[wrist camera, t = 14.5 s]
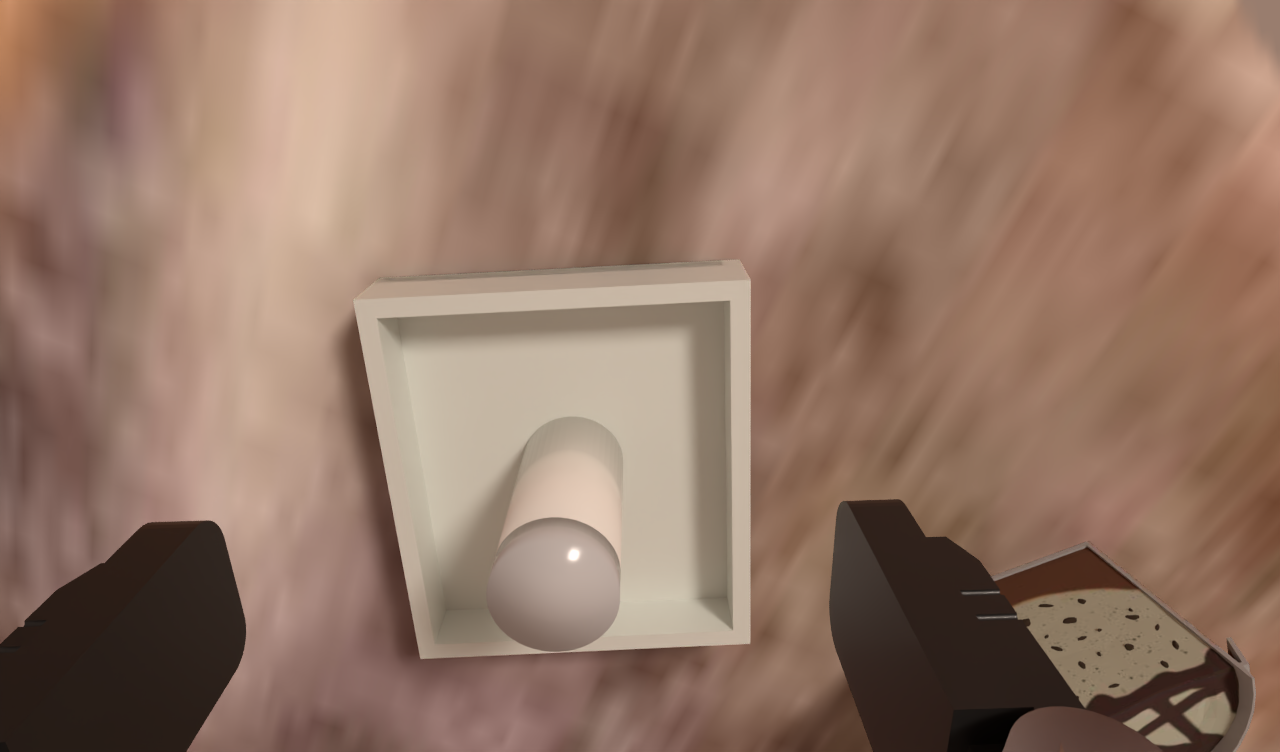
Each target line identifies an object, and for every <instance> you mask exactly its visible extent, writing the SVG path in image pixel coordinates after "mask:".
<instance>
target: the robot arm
mask: <svg viewBox="0 0 1280 752" xmlns="http://www.w3.org/2000/svg"><path fill="white" fill-rule="evenodd" d="M829 610H830V623H831V631H832V636H833V641H834V645H835V648H836V651H837V654H838V657H839V660H840V662H841V665H842V668H843V671H844V673H845V676H846V679H847V681H848V684H849V687H850V690H851V692H852V695H853V698H854V701H855V703H856V706H857V709H858V711H859V714H860V717H861V720H862V722H863V725H864V728H865V730H866V733H867V736H868V739H869V741H870V744H871V747H872V750H873V752H1163V751H1162V750H1161V749H1159V748H1158V747H1157V746H1156V745H1155V744H1153V743H1152V742H1151V741H1150V740H1149V739H1147V738H1146V737H1144V736H1143V735H1141V734H1140V733H1138V732H1137V731H1135V730H1134V729H1132V728H1130V727H1128V726H1126V725H1125V724H1123V723H1121V722H1119V721H1116V720H1114V719H1112V718H1110V717H1107V716H1105V715H1102V714H1099V713H1096V712H1093V711H1088V710H1086V709H1085V707H1084V706H1083V705H1082V703H1081V702H1080V701H1079V699H1078V698H1077V696H1076V695H1075V694H1074V692H1073V691H1072V689H1071V688H1070V687H1069V685H1068V684H1067V682H1066V681H1065V680H1064V678H1063V677H1062V675H1061V674H1060V673H1059V671H1058V670H1057V668H1056V667H1055V666H1054V664H1053V663H1052V661H1051V660H1050V659H1049V657H1048V656H1047V654H1046V653H1045V652H1044V650H1043V649H1042V647H1041V646H1040V645H1039V643H1038V642H1037V640H1036V639H1035V638H1034V636H1033V635H1032V633H1031V632H1030V631H1029V629H1028V628H1027V626H1026V625H1025V624H1024V622H1023V621H1022V619H1020V620H1018V618H1017V612H1016V611H1015V610H1014V608H1013V607H1012V605H1011V604H1010V603H1009V601H1008V600H1007V598H1006V597H1005V596H1004V595H1001V594H1000V589H999V587H998V586H997V584H996V583H995V582H994V580H993V579H992V577H991V576H990V575H989V573H988V572H987V570H986V569H985V568H984V566H983V565H982V563H981V562H980V561H979V560H978V559H977V558H975V557H974V556H972V555H971V554H970V553H968V552H967V551H965V550H964V549H962V548H961V547H960V546H958V545H957V544H955V543H954V542H953V541H951V540H950V539H948V538H947V537H925V535H924V533H923V532H922V530H921V529H920V527H919V526H918V524H917V522H916V521H915V519H914V518H913V516H912V515H911V513H910V511H909V510H908V508H907V507H906V505H905V504H904V503H903V502H902V501H901V500H899V499H894V500H864V501H843V502H841V503H840V505H839V507H838V511H837V517H836V528H835V540H834V552H833V564H832V576H831V588H830V601H829ZM245 639H246V623H245V617H244V613H243V609H242V605H241V601H240V597H239V593H238V589H237V585H236V581H235V578H234V574H233V570H232V566H231V562H230V558H229V554H228V550H227V547H226V543H225V539H224V536H223V533H222V531H221V529H220V527H219V526H218V525H217V524H216V523H215V522H213V521H179V522H151V523H147V524H145V525H143V526H142V527H141V528H139V529H138V530H137V531H136V532H135V533H134V534H133V535H132V536H131V537H130V538H129V539H128V540H127V541H126V542H125V543H124V544H123V545H122V546H121V547H120V548H119V549H118V550H117V551H116V552H115V553H114V554H113V555H112V556H111V557H110V558H109V559H108V560H107V561H106V562H105V563H101V564H99V565H97V566H96V567H94V568H92V569H91V570H89V571H88V572H86V573H84V574H83V575H81V576H79V577H78V578H76V579H74V580H73V581H71V582H69V583H68V584H66V585H64V586H63V587H61V588H59V589H58V590H56V591H55V592H54V593H53V594H52V595H51V596H50V597H49V598H48V599H47V600H46V601H45V602H44V603H43V604H42V605H41V606H40V607H39V608H38V609H37V610H35V611H34V612H33V613H32V614H31V615H30V616H29V617H28V618H27V619H26V620H25V625H24V627H18V628H17V629H16V630H15V631H14V632H12V633H11V634H10V635H9V636H8V637H7V638H6V639H5V640H4V641H3V642H2V643H1V644H0V752H186V751H187V749H188V748H189V746H190V745H191V743H192V741H193V740H194V738H195V736H196V735H197V733H198V732H199V730H200V728H201V727H202V725H203V723H204V722H205V720H206V719H207V717H208V715H209V714H210V712H211V711H212V709H213V707H214V706H215V704H216V702H217V701H218V699H219V698H220V696H221V694H222V693H223V691H224V689H225V688H226V686H227V685H228V683H229V681H230V680H231V678H232V676H233V675H234V673H235V672H236V670H237V668H238V666H239V664H240V661H241V658H242V655H243V651H244V646H245Z"/></svg>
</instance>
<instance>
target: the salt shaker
mask: <svg viewBox="0 0 1280 752" xmlns="http://www.w3.org/2000/svg"><path fill="white" fill-rule="evenodd" d="M622 501H623V453H622V450H621V447H620V445H619V443H618V441H617V439H616V438H615V436H614V435H613V434H612V433H611V432H610V431H609V430H608V429H607V428H605V427H604V426H603V425H601V424H599V423H597V422H596V421H593V420H590V419H587V418H583V417H562V418H557V419H554V420H552V421H549V422H547V423H546V424H544V425H542V426H541V427H540V428H539V429H537V430H536V431H535V432H534V434H533V435H532V436H531V437H530V439H529V441H528V443H527V445H526V448H525V451H524V455H523V459H522V462H521V466H520V469H519V473H518V477H517V480H516V484H515V487H514V491H513V494H512V498H511V502H510V505H509V509H508V512H507V516H506V519H505V523H504V527H503V530H502V534H501V537H500V541H499V545H498V548H497V552H496V555H495V559H494V562H493V566H492V570H491V573H490V577H489V580H488V584H487V591H486V599H487V605H488V609H489V612H490V614H491V616H492V618H493V620H494V622H495V623H496V624H497V626H498V627H499V628H500V629H501V630H502V631H503V632H504V633H505V634H506V635H507V636H509V637H510V638H511V639H513V640H515V641H516V642H518V643H520V644H522V645H524V646H527V647H530V648H533V649H537V650H541V651H549V652H562V651H570V650H574V649H578V648H581V647H584V646H586V645H588V644H590V643H592V642H594V641H595V640H597V639H598V638H600V637H601V636H602V635H603V634H604V633H605V632H606V631H607V630H608V629H609V628H610V627H611V625H612V624H613V622H614V620H615V618H616V616H617V613H618V610H619V605H620V581H621V541H622Z"/></svg>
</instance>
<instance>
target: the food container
mask: <svg viewBox="0 0 1280 752" xmlns="http://www.w3.org/2000/svg"><path fill="white" fill-rule="evenodd" d="M991 577H992V579H993V580H994V582H995V583H996V584H997V586H998V587H999V589H1000V594H1001V595H1004V596H1005V597H1006V598H1007V600H1008V601H1009V603H1010V604H1011V605H1012V607H1013V608H1014V610H1015V611H1016V612H1017V618H1018V620H1020V619H1022V621H1023V622H1024V624H1025V625H1026V626H1027V628H1028V629H1029V631H1030V632H1031V633H1032V635H1033V636H1034V638H1035V639H1036V640H1037V642H1038V643H1039V645H1040V646H1041V647H1042V649H1043V650H1044V652H1045V653H1046V654H1047V656H1048V657H1049V659H1050V660H1051V661H1052V663H1053V664H1054V666H1055V667H1056V668H1057V670H1058V671H1059V673H1060V674H1061V675H1062V677H1063V678H1064V680H1065V681H1066V682H1067V684H1068V685H1069V687H1070V688H1071V689H1072V691H1073V692H1074V694H1075V695H1076V696H1077V698H1078V699H1079V701H1080V702H1081V703H1082V705H1083V706H1084V707H1085V709H1086V710H1088V711H1093V712H1096V713H1099V714H1102V715H1105V716H1107V717H1110V718H1112V719H1114V720H1116V721H1119V722H1121V723H1123V724H1125V725H1126V726H1128V727H1130V728H1132V729H1134V730H1135V731H1137V732H1138V733H1140V734H1141V735H1143V736H1144V737H1146V738H1147V739H1149V740H1150V741H1151V742H1152V743H1153V744H1155V745H1156V746H1157V747H1158V748H1159V749H1161V750H1162V751H1163V752H1236V750H1237V749H1238V748H1239V746H1240V745H1241V743H1242V741H1243V739H1244V737H1245V735H1246V733H1247V731H1248V729H1249V726H1250V723H1251V719H1252V716H1253V713H1254V706H1255V697H1256V690H1255V680H1254V677H1253V676H1252V675H1251V674H1250V669H1249V663H1248V662H1247V660H1246V659H1245V657H1244V656H1243V654H1242V653H1241V651H1240V650H1239V648H1238V647H1237V646H1236V644H1235V643H1234V641H1233V640H1232V638H1231V637H1230V638H1227V647H1228V654H1227V653H1226V652H1225V651H1224V650H1222V649H1221V648H1220V647H1219V646H1217V645H1216V644H1215V643H1214V642H1213V641H1211V640H1210V639H1209V638H1208V637H1206V636H1205V635H1204V634H1203V633H1201V632H1200V631H1199V630H1198V629H1197V628H1195V627H1194V626H1193V625H1192V624H1190V623H1189V622H1188V621H1187V620H1185V619H1184V618H1183V617H1182V616H1180V615H1179V614H1178V613H1177V612H1176V611H1174V610H1173V609H1172V608H1171V607H1169V606H1168V605H1167V604H1166V603H1164V602H1163V601H1162V600H1161V599H1160V598H1158V597H1157V596H1156V595H1155V594H1153V593H1152V592H1151V591H1150V590H1148V589H1147V588H1146V587H1145V586H1144V585H1142V584H1141V583H1140V582H1139V581H1137V580H1136V579H1135V578H1134V577H1132V576H1131V575H1130V574H1129V573H1127V572H1126V571H1125V570H1124V569H1123V568H1121V567H1120V566H1119V565H1118V564H1116V563H1115V562H1114V561H1113V560H1111V559H1110V558H1109V557H1108V556H1107V555H1105V554H1104V553H1103V552H1102V551H1100V550H1099V549H1098V548H1097V547H1095V546H1094V545H1093V544H1092V543H1091V542H1089V541H1087V542H1084V543H1081V544H1079V545H1076V546H1073V547H1070V548H1068V549H1065V550H1062V551H1060V552H1057V553H1054V554H1051V555H1049V556H1046V557H1043V558H1040V559H1038V560H1035V561H1032V562H1030V563H1027V564H1024V565H1021V566H1019V567H1016V568H1013V569H1010V570H1008V571H1005V572H1002V573H1000V574H997V575H994V576H991Z"/></svg>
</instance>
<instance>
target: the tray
mask: <svg viewBox="0 0 1280 752" xmlns="http://www.w3.org/2000/svg"><path fill="white" fill-rule="evenodd" d="M353 303H354V308H355V313H356V319H357V324H358V329H359V334H360V340H361V345H362V350H363V356H364V361H365V366H366V372H367V377H368V382H369V388H370V393H371V398H372V404H373V409H374V414H375V420H376V425H377V430H378V436H379V441H380V446H381V452H382V457H383V462H384V468H385V473H386V478H387V484H388V489H389V494H390V500H391V505H392V510H393V516H394V521H395V526H396V532H397V537H398V542H399V548H400V553H401V558H402V564H403V569H404V574H405V580H406V585H407V590H408V596H409V601H410V606H411V612H412V617H413V622H414V628H415V633H416V638H417V644H418V649H419V654H420V659H431V658H453V657H474V656H496V655H518V654H539V653H561V652H549V651H541V650H537V649H533V648H530V647H527V646H524V645H522V644H520V643H518V642H516V641H515V640H513V639H511V638H510V637H509V636H507V635H506V634H505V633H504V632H503V631H502V630H501V629H500V628H499V627H498V626H497V624H496V623H495V622H494V620H493V618H492V616H491V614H490V612H489V609H488V605H487V599H486V591H487V584H488V580H489V577H490V573H491V570H492V566H493V562H494V559H495V555H496V552H497V548H498V545H499V541H500V537H501V534H502V530H503V527H504V523H505V519H506V516H507V512H508V509H509V505H510V502H511V498H512V494H513V491H514V487H515V484H516V480H517V477H518V473H519V469H520V466H521V462H522V459H523V455H524V451H525V448H526V445H527V443H528V441H529V439H530V437H531V436H532V435H533V434H534V432H535V431H536V430H537V429H539V428H540V427H541V426H542V425H544V424H546V423H547V422H549V421H552V420H554V419H557V418H562V417H583V418H587V419H590V420H593V421H596V422H597V423H599V424H601V425H603V426H604V427H605V428H607V429H608V430H609V431H610V432H611V433H612V434H613V435H614V436H615V438H616V439H617V441H618V443H619V445H620V447H621V450H622V453H623V501H622V541H621V581H620V605H619V610H618V613H617V616H616V618H615V620H614V622H613V624H612V625H611V627H610V628H609V629H608V630H607V631H606V632H605V633H604V634H603V635H602V636H601V637H600V638H598V639H597V640H595V641H594V642H592V643H590V644H588V645H586V646H584V647H581V648H578V649H574V650H570V651H562V652H582V651H604V650H625V649H647V648H668V647H690V646H711V645H733V644H750V392H751V280H750V278H749V276H748V274H747V272H746V271H745V269H744V267H743V265H742V263H741V262H740V260H739V259H738V260H718V261H699V262H679V263H659V264H640V265H620V266H601V267H581V268H561V269H542V270H522V271H503V272H483V273H463V274H444V275H424V276H404V277H385V278H379V279H377V280H376V281H375V282H374V283H373V284H371V285H370V286H369V287H368V288H367V289H365V290H364V291H363V292H362V293H361V294H359V295H358V296H357V297H356V298H355V299H354V300H353Z"/></svg>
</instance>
